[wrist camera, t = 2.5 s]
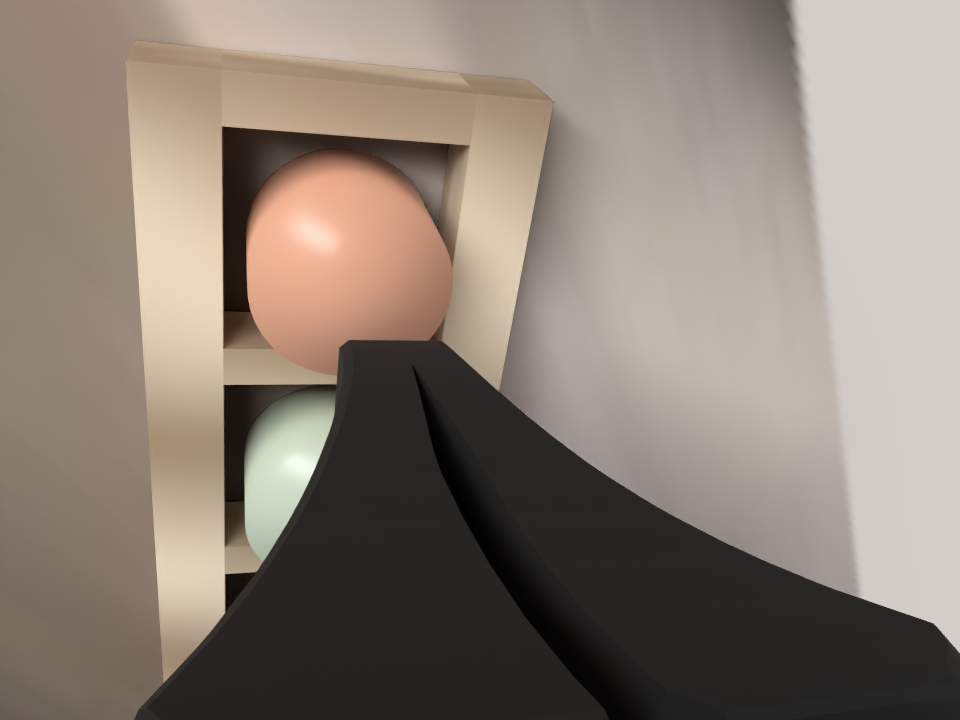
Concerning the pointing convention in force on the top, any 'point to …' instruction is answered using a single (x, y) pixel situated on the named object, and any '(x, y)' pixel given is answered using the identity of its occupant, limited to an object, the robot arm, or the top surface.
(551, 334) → the top surface
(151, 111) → the button panel
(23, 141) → the top surface
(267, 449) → the sage button
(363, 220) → the terracotta button
